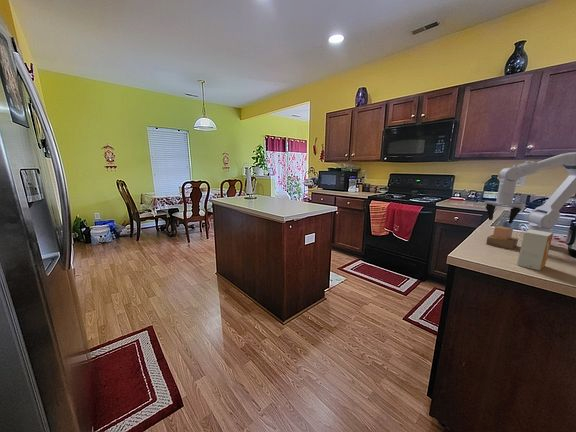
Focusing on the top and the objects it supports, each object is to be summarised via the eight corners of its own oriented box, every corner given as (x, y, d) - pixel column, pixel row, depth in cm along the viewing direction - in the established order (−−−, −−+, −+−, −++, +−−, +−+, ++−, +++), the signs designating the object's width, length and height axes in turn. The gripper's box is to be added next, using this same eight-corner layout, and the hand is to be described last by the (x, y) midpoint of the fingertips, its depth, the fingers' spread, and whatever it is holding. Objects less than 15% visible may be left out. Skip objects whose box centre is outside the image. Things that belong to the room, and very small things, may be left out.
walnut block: (492, 241, 119) (493, 234, 118) (516, 246, 112) (518, 238, 111) (486, 245, 114) (487, 237, 113) (510, 250, 106) (512, 241, 106)
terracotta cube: (497, 235, 115) (499, 225, 114) (511, 238, 111) (513, 228, 110) (492, 237, 113) (494, 226, 112) (506, 239, 109) (508, 229, 107)
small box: (540, 271, 85) (548, 236, 82) (516, 265, 90) (523, 232, 87) (545, 266, 89) (553, 232, 86) (522, 260, 94) (529, 228, 91)
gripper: (483, 192, 116) (478, 219, 119) (522, 195, 104) (516, 225, 107) (489, 191, 120) (485, 217, 123) (528, 194, 107) (522, 223, 110)
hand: (500, 221), depth 115 cm, fingers open, 7 cm apart
